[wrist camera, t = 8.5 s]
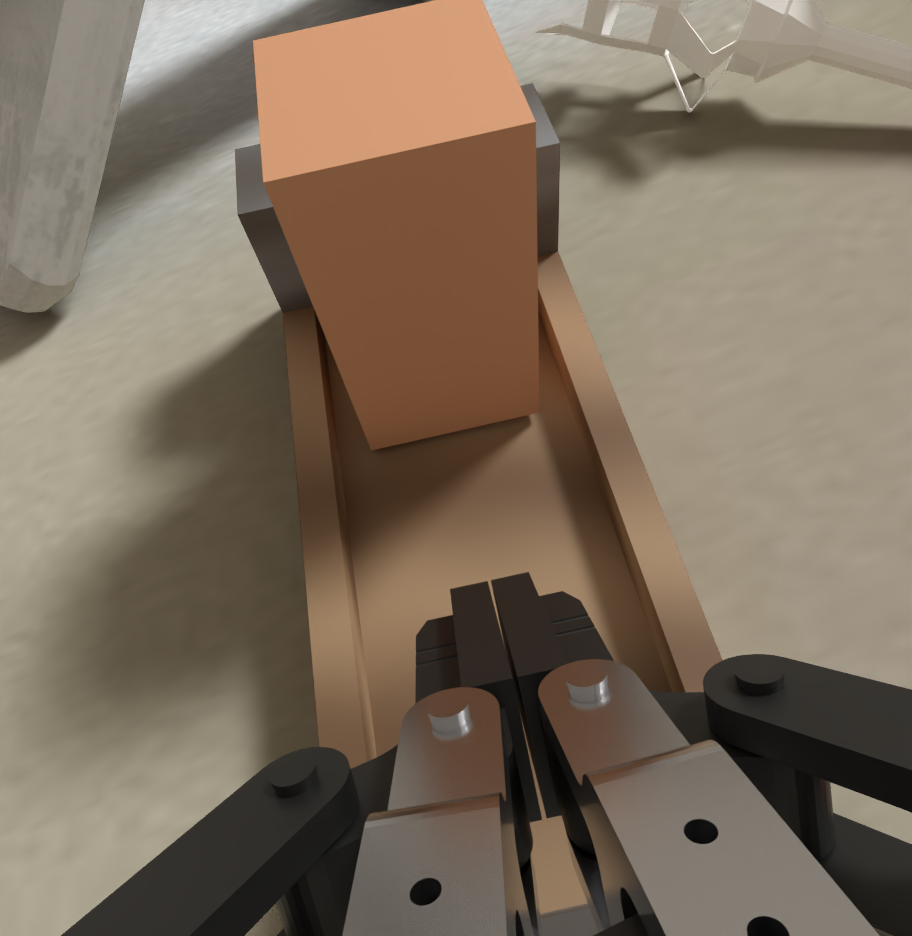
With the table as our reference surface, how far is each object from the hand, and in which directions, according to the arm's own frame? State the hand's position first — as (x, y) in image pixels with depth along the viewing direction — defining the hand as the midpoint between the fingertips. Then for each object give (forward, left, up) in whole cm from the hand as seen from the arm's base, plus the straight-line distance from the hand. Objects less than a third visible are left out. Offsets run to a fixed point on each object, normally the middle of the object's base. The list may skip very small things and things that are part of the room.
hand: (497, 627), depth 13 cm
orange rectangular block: (-6, -8, -4) cm, 11 cm away
